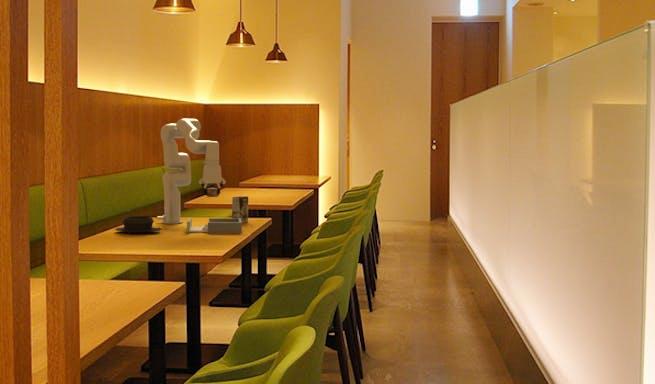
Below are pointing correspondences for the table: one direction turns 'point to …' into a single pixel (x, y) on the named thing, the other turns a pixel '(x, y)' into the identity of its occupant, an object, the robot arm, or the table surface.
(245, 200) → the coffee box
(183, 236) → the table surface
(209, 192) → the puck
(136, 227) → the casserole
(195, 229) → the tray
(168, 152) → the robot arm
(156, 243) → the table surface
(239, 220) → the frame
